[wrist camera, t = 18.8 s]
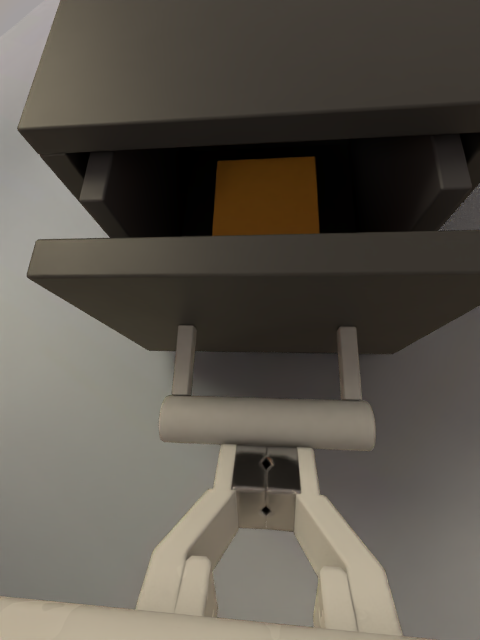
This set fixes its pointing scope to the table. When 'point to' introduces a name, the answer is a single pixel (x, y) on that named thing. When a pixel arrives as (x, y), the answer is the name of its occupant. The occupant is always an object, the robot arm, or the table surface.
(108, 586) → the table surface
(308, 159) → the block
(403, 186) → the drawer
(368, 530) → the table surface
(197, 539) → the robot arm
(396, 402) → the table surface
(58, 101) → the dark grey open box
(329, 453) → the table surface
